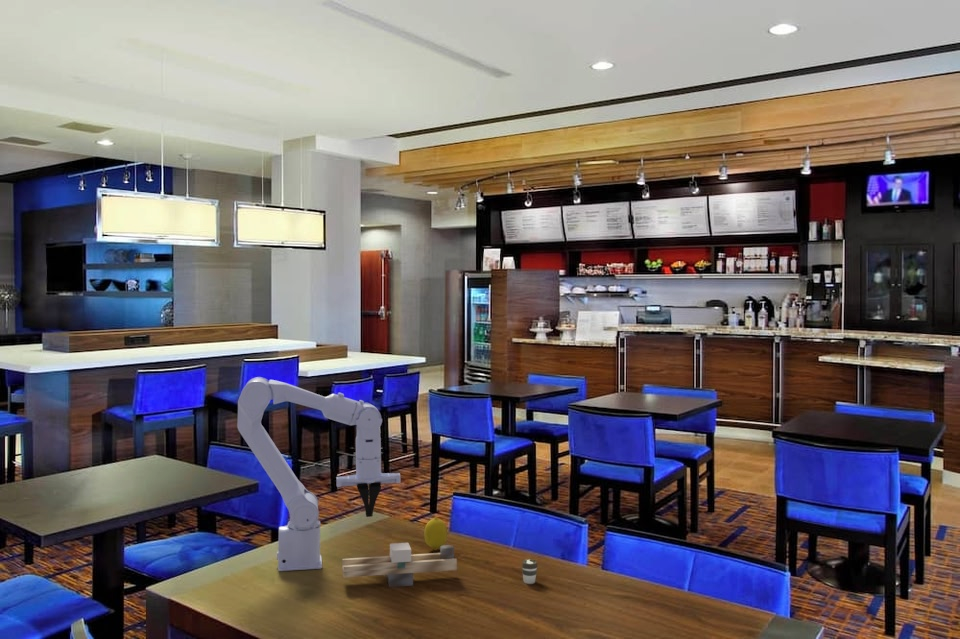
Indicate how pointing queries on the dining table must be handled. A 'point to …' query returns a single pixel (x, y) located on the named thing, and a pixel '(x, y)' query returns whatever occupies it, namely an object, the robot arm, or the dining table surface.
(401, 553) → the rider
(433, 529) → the lemon
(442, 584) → the dining table surface
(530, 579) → the coffee cup
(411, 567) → the beam
